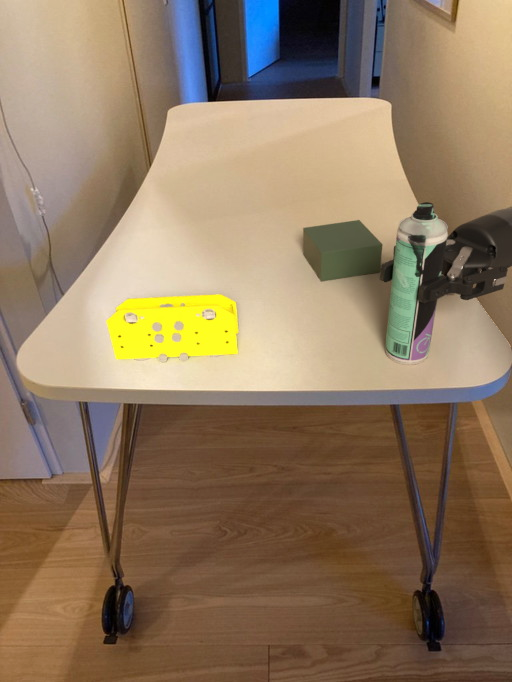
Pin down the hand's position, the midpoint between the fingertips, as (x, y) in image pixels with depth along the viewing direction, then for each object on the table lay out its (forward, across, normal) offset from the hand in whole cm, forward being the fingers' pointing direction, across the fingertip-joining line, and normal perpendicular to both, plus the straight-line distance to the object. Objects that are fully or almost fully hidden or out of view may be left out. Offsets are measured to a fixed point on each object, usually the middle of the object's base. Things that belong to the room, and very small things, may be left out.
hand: (401, 284), depth 64 cm
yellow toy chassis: (+21, -19, +11) cm, 30 cm away
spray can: (-3, 0, +11) cm, 11 cm away
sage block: (-12, -24, +11) cm, 29 cm away
